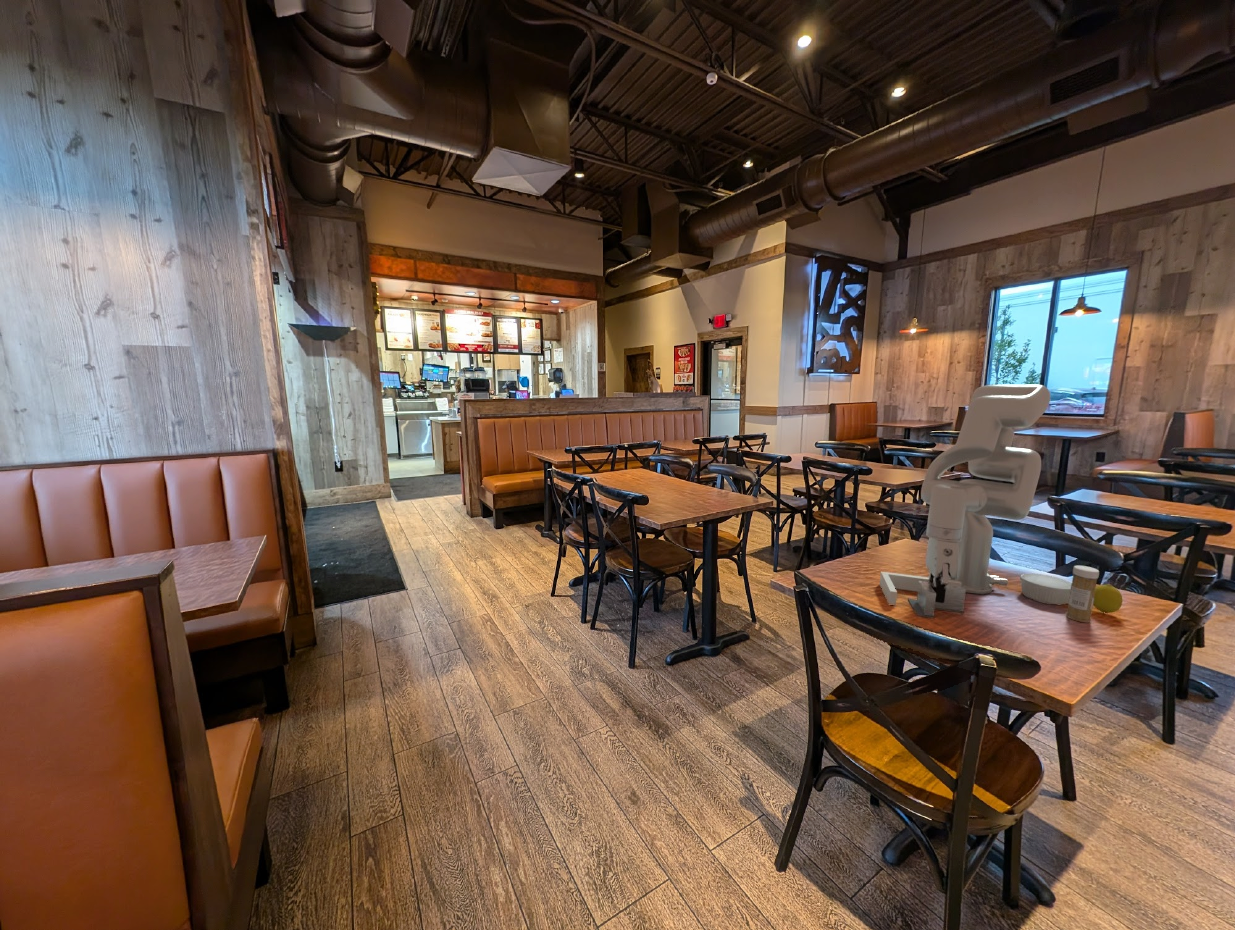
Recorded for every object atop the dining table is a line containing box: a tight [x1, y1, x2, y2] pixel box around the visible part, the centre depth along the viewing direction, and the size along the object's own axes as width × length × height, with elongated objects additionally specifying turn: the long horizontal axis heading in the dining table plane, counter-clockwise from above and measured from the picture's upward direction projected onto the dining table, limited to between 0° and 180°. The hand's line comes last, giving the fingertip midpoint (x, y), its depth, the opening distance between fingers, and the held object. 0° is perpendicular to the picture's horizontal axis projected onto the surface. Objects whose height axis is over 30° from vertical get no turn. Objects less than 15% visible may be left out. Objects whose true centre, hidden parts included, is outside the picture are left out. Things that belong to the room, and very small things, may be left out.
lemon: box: [1093, 583, 1123, 614], centre depth 121 cm, size 6×6×8 cm
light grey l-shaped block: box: [879, 571, 962, 607], centre depth 128 cm, size 20×15×4 cm
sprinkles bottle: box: [1065, 565, 1100, 623], centre depth 118 cm, size 5×5×13 cm
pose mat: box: [907, 598, 966, 619], centre depth 122 cm, size 12×10×1 cm
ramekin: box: [1019, 572, 1072, 605], centre depth 130 cm, size 11×11×5 cm
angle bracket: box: [916, 581, 967, 616], centre depth 121 cm, size 10×8×6 cm
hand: (935, 599), depth 124 cm, fingers closed on angle bracket, 2 cm apart
